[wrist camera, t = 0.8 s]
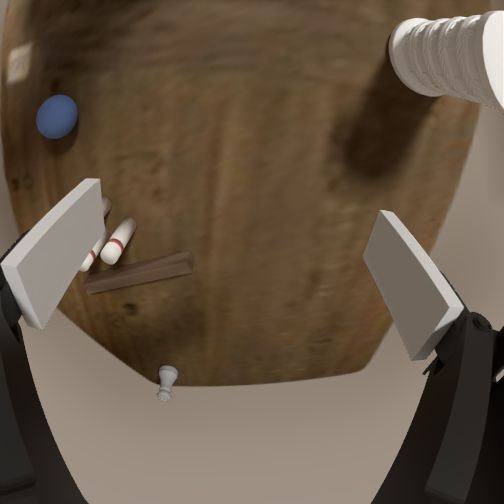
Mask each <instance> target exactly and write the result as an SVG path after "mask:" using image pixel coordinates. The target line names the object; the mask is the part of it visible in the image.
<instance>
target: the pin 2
mask: <svg viewBox="0 0 504 504" xmlns="http://www.w3.org/2000/svg"><path fill="white" fill-rule="evenodd" d="M136 227H137V224H136V221H135V220H134V219H132V218H130V217H127V218H125V219H123V221H122V222H121V224H120V225H119V226H118V228H117V229H116V231H115V232H114V233H113V235H112V236H111V238H110V239H109V240H108V242H107V243H106V245H105V247H104V248H103V250H102V251H101V258H102V260H103V261H104V262H105V263H107V264H115V263H116V262H117V260H118V258H119V256H120V255H121V254H122V252H123V249H124V248H125V246H126V244H127V243H128V241H129V239H130V238H131V236H132V234H133V233H134V231H135V229H136Z"/></svg>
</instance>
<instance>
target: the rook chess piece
mask: <svg viewBox="0 0 504 504" xmlns="http://www.w3.org/2000/svg"><path fill="white" fill-rule="evenodd" d="M177 375H178V371H177V370H176V368H174V367H172V366H169V365H164V366H162V367H160V369H159V376H160V379H161V385H160V388H159V390H160V391H159V392H158V393H157V396H158V399H159V400H160V399H161V401H163V400H165V402H167V400H168V401H169V400H170V399H171V398H172V396H171V394H170V393H171V387H172V384H173V382H174V381H175V380H176V378H177Z"/></svg>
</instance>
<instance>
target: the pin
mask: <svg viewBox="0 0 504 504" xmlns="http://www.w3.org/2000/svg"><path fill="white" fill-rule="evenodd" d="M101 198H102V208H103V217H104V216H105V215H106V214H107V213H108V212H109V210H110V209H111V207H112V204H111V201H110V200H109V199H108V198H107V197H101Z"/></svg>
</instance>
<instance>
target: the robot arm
mask: <svg viewBox="0 0 504 504" xmlns="http://www.w3.org/2000/svg"><path fill="white" fill-rule="evenodd" d="M104 232H105V225H104V217H103V208H102V198H101V187H100V179H85V180H84V181H82V182H81V183H80V184H79V185H78V186H77V187H76V188H74V189H73V190H72V191H71V192H70V193H69V194H68V195H67V196H65V197H64V198H63V199H62V200H61V201H60V202H59V203H58V204H57V205H56V206H55V207H54V208H52V209H51V210H50V211H49V212H48V213H47V214H46V215H45V216H44V217H43V218H42V219H41V220H40V221H39V222H38V223H37V224H36V225H35V226H34V227H33V228H31V229H30V230H28V231H26V232H25V233H23V234H22V235H21V236H20V238H19V239H18V240H17V241H16V243H14V244H13V245H12V246H11V249H8V251H7V252H6V253H5V254H4V255H3V256H2V257H1V259H0V504H88V502H87V501H86V500H85V499H84V497H83V496H82V494H81V492H80V490H79V489H78V487H77V485H76V483H75V481H74V479H73V477H72V476H71V474H70V472H69V470H68V468H67V466H66V464H65V462H64V460H63V457H62V455H61V453H60V451H59V449H58V446H57V444H56V442H55V440H54V437H53V435H52V432H51V430H50V427H49V425H48V422H47V420H46V417H45V414H44V411H43V409H42V406H41V403H40V401H39V397H38V394H37V391H36V387H35V384H34V381H33V377H32V374H31V370H30V366H29V362H28V358H27V354H26V350H25V345H24V341H23V336H22V331H21V327H20V325H19V323H18V320H19V319H20V317H21V315H23V317H24V319H25V321H26V323H27V325H28V326H29V327H33V328H36V329H40V330H44V328H45V327H46V324H47V323H48V321H49V319H50V317H51V315H52V314H53V312H54V310H55V308H56V307H57V305H58V303H59V301H60V300H61V298H62V296H63V295H64V293H65V291H66V290H67V288H68V286H69V285H70V283H71V281H72V280H73V278H74V276H75V275H76V273H77V272H78V270H79V269H80V267H81V265H82V264H83V262H84V261H85V259H86V258H87V256H88V255H89V253H90V252H91V250H92V249H93V247H94V246H95V245H96V243H97V242H98V240H99V239H100V237H101V236H102V234H103V233H104ZM363 259H364V261H365V263H366V264H367V266H368V268H369V270H370V272H371V274H372V276H373V278H374V280H375V282H376V284H377V286H378V288H379V290H380V292H381V294H382V296H383V299H384V301H385V303H386V305H387V307H388V309H389V311H390V313H391V316H392V318H393V320H394V322H395V324H396V327H397V329H398V331H399V333H400V336H401V338H402V340H403V343H404V345H405V347H406V350H407V352H408V354H409V357H410V359H411V361H414V360H424V359H426V358H427V357H428V356H429V355H430V354H431V352H432V351H433V350H434V349H435V351H436V353H437V357H436V358H435V359H434V360H433V361H432V363H431V364H430V365H429V366H428V367H427V368H426V370H425V371H424V372H423V375H425V374H426V373H427V372H428V371H430V372H429V376H428V379H427V382H426V385H425V388H424V391H423V394H422V396H421V399H420V402H419V405H418V407H417V410H416V413H415V415H414V418H413V420H412V423H411V425H410V428H409V430H408V432H407V435H406V437H405V439H404V441H403V444H402V446H401V448H400V450H399V452H398V455H397V457H396V459H395V461H394V463H393V465H392V467H391V469H390V470H389V472H388V474H387V476H386V478H385V480H384V482H383V484H382V485H381V487H380V489H379V491H378V493H377V494H376V496H375V498H374V499H373V501H372V503H371V504H504V376H503V377H502V378H501V379H500V380H499V381H498V382H496V376H497V375H498V374H499V373H500V372H501V371H502V370H503V369H504V326H503V327H502V329H501V330H500V331H496V330H493V329H492V326H491V324H490V323H489V321H488V320H487V319H486V318H485V317H484V316H482V315H481V314H479V313H476V312H471V313H470V312H469V310H468V309H467V307H466V306H465V304H464V303H463V301H462V300H461V298H460V297H459V295H458V294H457V292H456V291H454V288H453V287H452V285H450V282H449V281H448V280H447V278H446V277H445V275H444V274H443V273H442V272H441V271H440V270H438V269H437V267H436V266H435V265H434V263H433V262H432V260H431V259H430V258H429V256H428V255H427V254H426V252H425V251H424V250H423V249H422V247H421V246H420V245H419V243H418V242H417V241H416V240H415V238H414V237H413V236H412V235H411V233H410V232H409V231H408V230H407V228H406V227H405V226H404V225H403V224H402V222H401V221H400V220H399V219H398V218H397V217H396V215H395V214H394V213H393V212H389V211H384V210H380V211H379V214H378V217H377V219H376V222H375V225H374V228H373V230H372V233H371V236H370V238H369V241H368V244H367V246H366V249H365V252H364V254H363Z"/></svg>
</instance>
